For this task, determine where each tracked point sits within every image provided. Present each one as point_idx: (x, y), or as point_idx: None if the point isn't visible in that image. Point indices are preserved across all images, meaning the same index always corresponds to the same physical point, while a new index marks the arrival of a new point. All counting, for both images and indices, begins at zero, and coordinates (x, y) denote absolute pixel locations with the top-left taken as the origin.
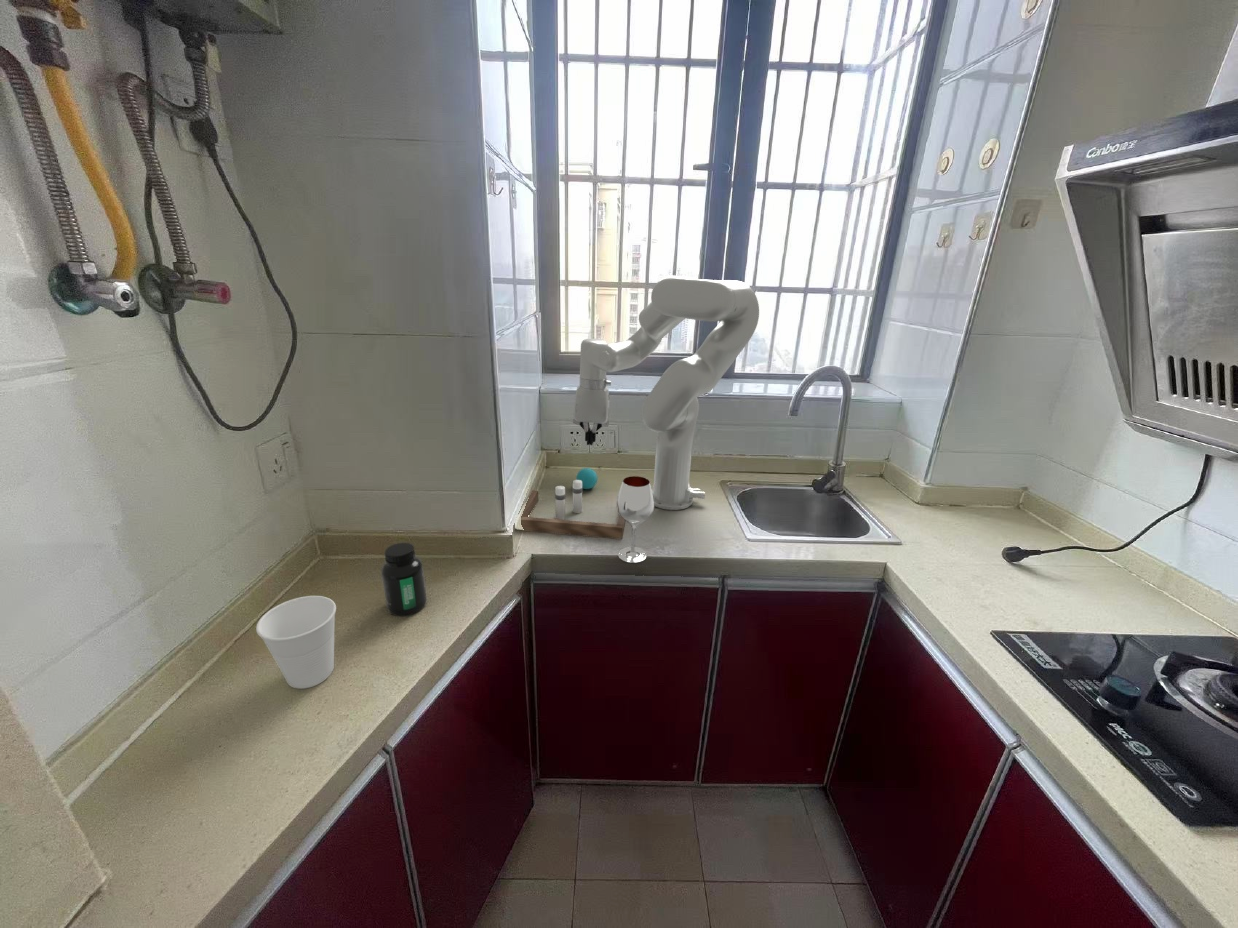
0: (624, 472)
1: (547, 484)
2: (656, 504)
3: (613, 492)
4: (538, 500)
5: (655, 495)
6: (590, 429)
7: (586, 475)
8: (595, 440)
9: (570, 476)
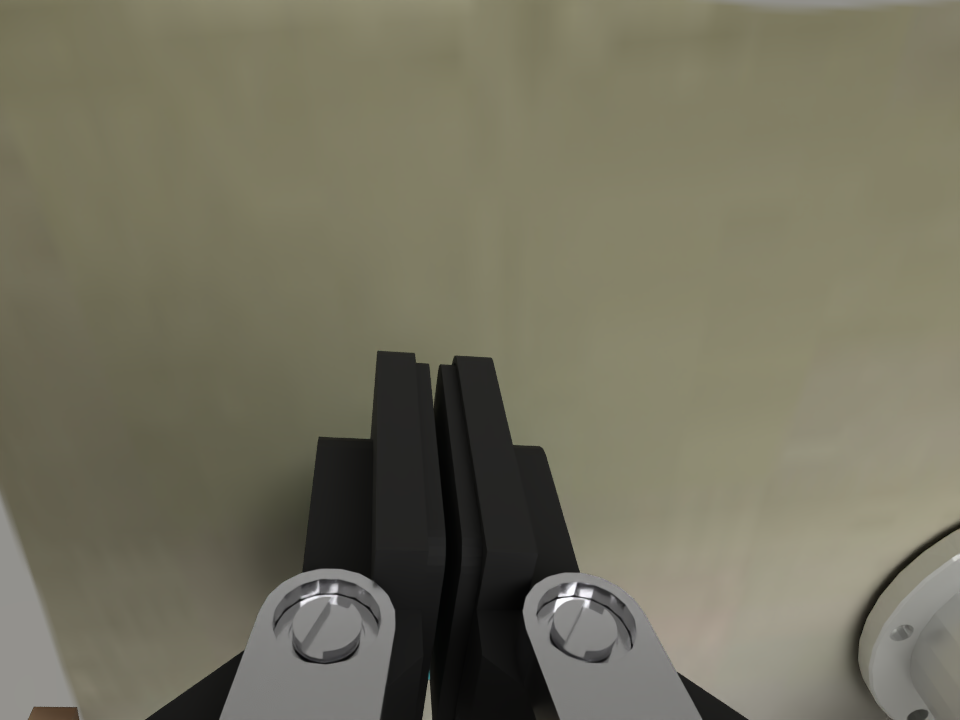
0: (836, 96)
1: (25, 468)
2: (891, 717)
3: (635, 546)
4: (76, 708)
5: (928, 702)
6: (425, 564)
7: None
8: (537, 452)
9: (200, 267)
